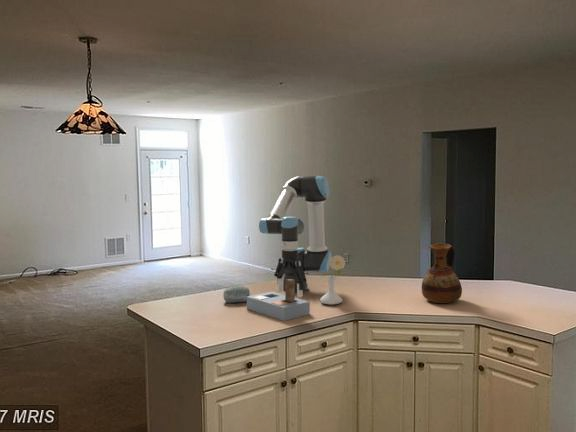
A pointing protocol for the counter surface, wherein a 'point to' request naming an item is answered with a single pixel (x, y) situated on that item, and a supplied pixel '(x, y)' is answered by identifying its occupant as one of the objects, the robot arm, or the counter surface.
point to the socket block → (277, 306)
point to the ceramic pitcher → (442, 276)
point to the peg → (290, 290)
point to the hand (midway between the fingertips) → (290, 294)
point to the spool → (236, 294)
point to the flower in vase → (331, 296)
